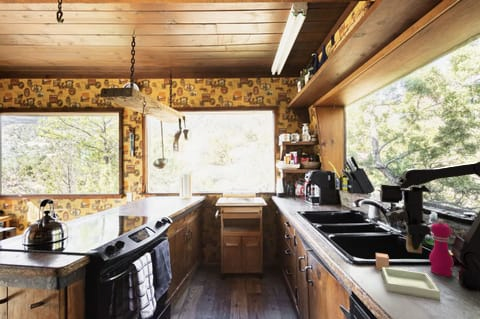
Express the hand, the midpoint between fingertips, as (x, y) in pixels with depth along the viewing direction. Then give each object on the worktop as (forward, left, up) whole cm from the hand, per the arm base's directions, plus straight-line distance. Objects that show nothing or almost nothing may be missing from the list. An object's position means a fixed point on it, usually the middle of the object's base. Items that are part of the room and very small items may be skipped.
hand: (414, 247), depth 89 cm
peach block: (+9, -6, -11) cm, 16 cm away
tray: (+3, +7, -11) cm, 13 cm away
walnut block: (0, 0, -1) cm, 1 cm away
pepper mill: (-11, -10, -11) cm, 18 cm away
